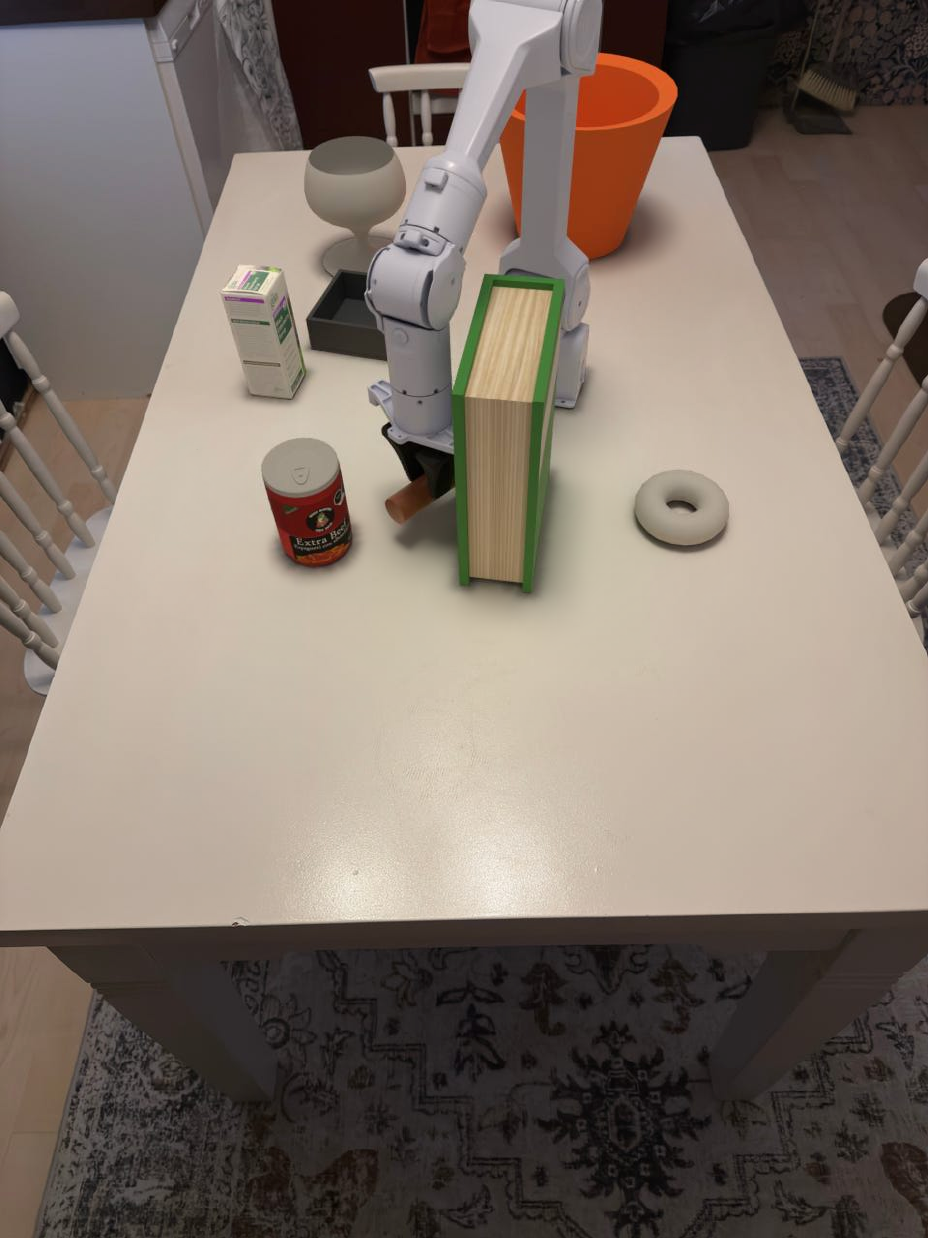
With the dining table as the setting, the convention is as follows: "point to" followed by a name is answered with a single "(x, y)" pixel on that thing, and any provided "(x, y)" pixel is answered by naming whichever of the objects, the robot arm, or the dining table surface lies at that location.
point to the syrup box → (264, 330)
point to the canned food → (308, 500)
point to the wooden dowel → (411, 500)
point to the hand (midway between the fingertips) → (429, 485)
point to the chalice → (354, 195)
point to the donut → (681, 525)
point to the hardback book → (505, 426)
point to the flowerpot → (602, 148)
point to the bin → (346, 319)
